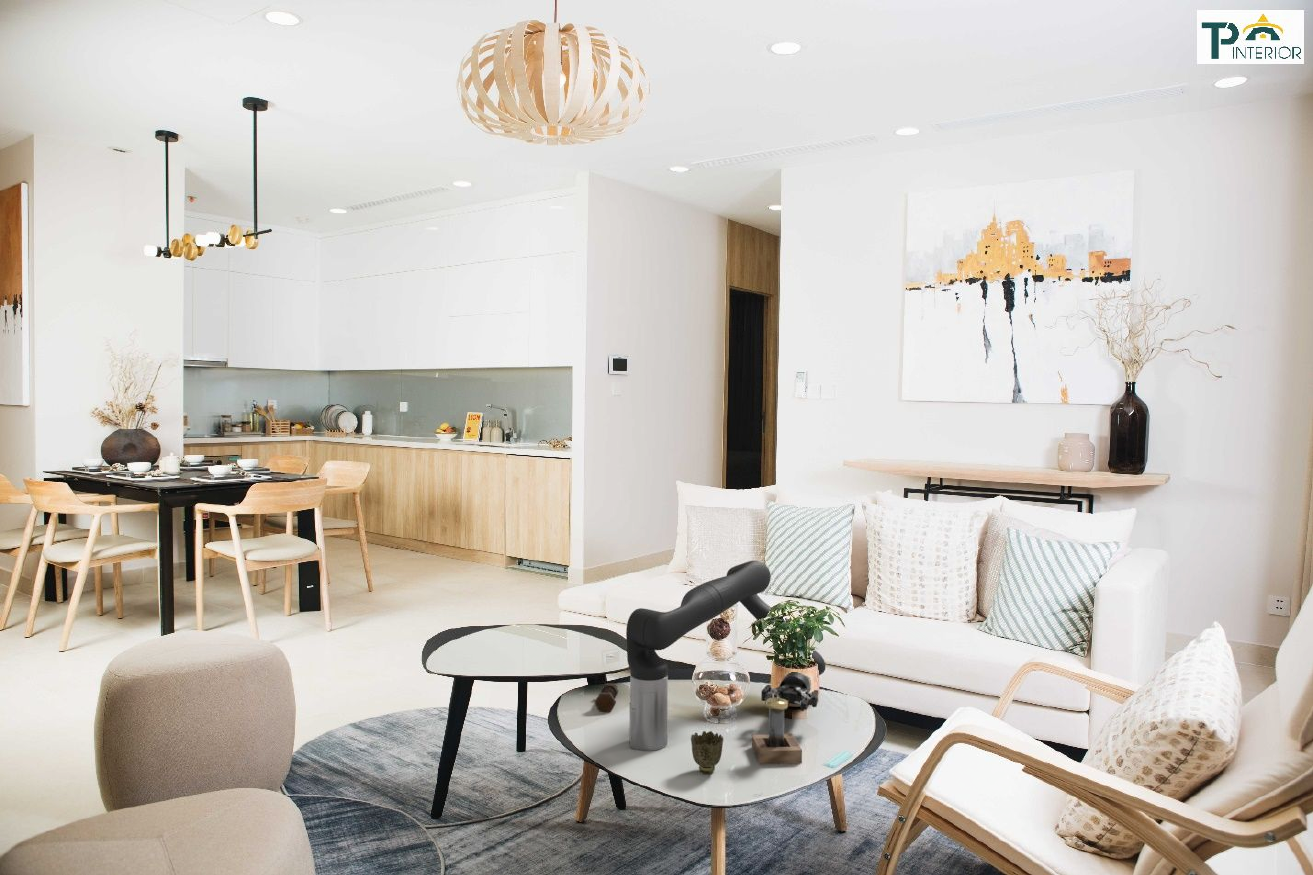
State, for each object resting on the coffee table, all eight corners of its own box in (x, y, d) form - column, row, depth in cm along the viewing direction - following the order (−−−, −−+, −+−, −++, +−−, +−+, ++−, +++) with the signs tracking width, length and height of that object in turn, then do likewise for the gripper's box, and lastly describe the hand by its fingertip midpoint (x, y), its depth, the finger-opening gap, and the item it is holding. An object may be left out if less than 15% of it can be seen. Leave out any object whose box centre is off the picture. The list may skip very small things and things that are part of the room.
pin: (767, 759, 209) (768, 705, 209) (763, 750, 215) (763, 697, 214) (789, 758, 210) (790, 704, 209) (784, 749, 215) (784, 697, 215)
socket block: (759, 764, 207) (760, 751, 207) (751, 747, 217) (751, 735, 217) (801, 762, 208) (802, 750, 208) (791, 745, 218) (791, 733, 217)
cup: (699, 780, 198) (699, 745, 197) (685, 767, 205) (685, 733, 204) (728, 774, 201) (729, 740, 200) (713, 762, 208) (714, 729, 207)
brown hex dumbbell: (613, 700, 255) (607, 717, 240) (598, 691, 255) (591, 707, 240) (624, 683, 255) (618, 699, 240) (609, 674, 255) (602, 689, 240)
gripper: (770, 668, 239) (757, 687, 224) (823, 674, 235) (813, 693, 219) (770, 695, 240) (757, 716, 224) (822, 701, 235) (813, 723, 220)
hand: (785, 705), depth 222 cm, fingers open, 8 cm apart
